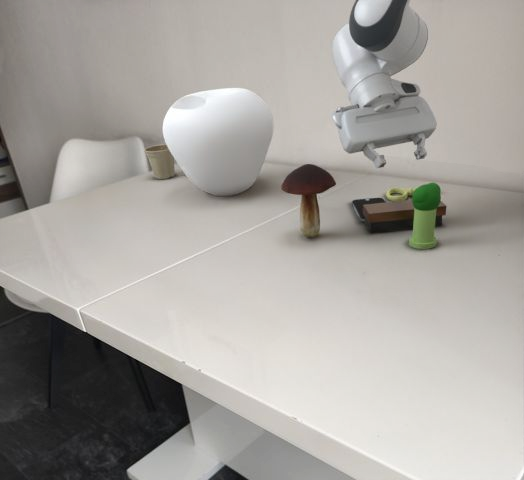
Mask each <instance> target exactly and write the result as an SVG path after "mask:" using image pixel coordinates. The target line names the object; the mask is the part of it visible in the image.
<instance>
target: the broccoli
mask: <svg viewBox="0 0 524 480" xmlns="http://www.w3.org/2000/svg"><path fill="white" fill-rule="evenodd" d="M415 188H416V189H415ZM415 188H414V189H415V190H414V192H413V194H412V196H411V200H412V204H413V206H414V208H415V210H414V224H413V229H412V235H411V236H410V237H409V239H408V245H409V247H411V248H413V249H417V250H427V249H432V248H435V247H436V246H437V243H438V239H437V237H436V236H435V229H436V227H435V219H436V209H437V207H438V205H439V204H440V201H442V195H441V193H442V190H441V186H440V185H439V184H438V183H436V182H429V183H426V184H422V185H419V186H418V187H415Z"/></svg>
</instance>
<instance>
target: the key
mask: <svg viewBox="0 0 524 480" xmlns="http://www.w3.org/2000/svg"><path fill="white" fill-rule="evenodd" d="M416 188H417V187H415V188H411V187H409V188H408V189H405V188H403V187H392V188H389V189H388V190H387V191H386V193H385V197H386V198H387V200H388V201H390V202H395V201H405V200H408V197H412V196H413V192H414V190H415V189H416ZM392 194H401V195H397V196H394V195H392Z"/></svg>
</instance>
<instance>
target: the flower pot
mask: <svg viewBox="0 0 524 480" xmlns="http://www.w3.org/2000/svg"><path fill="white" fill-rule="evenodd" d="M143 152H144V153H145V154H146V157H147V159H148V161H149V164H150V168H151V170H152V173H153V176H154V179H157V180H166V179H170V178H171V177H172V178H173V177H175V175H176V172H175V158H174V157H173V155H172V154H171V152H170V150H169V149H168V147H167V145H166V143H164V144H163V143H162V144H156V145H151V146H148V147H145V148H144V149H143Z"/></svg>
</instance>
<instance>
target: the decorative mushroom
mask: <svg viewBox="0 0 524 480" xmlns="http://www.w3.org/2000/svg"><path fill="white" fill-rule="evenodd" d="M335 186H337V182H336V179H335V178H334V177H333V175H332V174H331V173H330V172H329V171H327V170H326V169H324V168H322V167H320V166H318V165H315V164H313V163H306V164H303V165H301V166H298V167H297V168H295V169H294V170H292V171H291V172H290V173H288V174H287V175H286V176H285V177H284V180H283V182H282V184H281V187H280V189H281V191H282V192H284V193H286V194H289V195H295V196H301V198H300V206H299V230H300V232H301V235H302V236H304V237H306V238H310V239H312V238H315V237H316V236H317V235H319V233H320V231H321V217H320V206H319V202H318V201H319V200H318V196H317V195H319V194H323V193H325V192H327V191H328V190H330V189H331V188H333V187H335Z"/></svg>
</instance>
